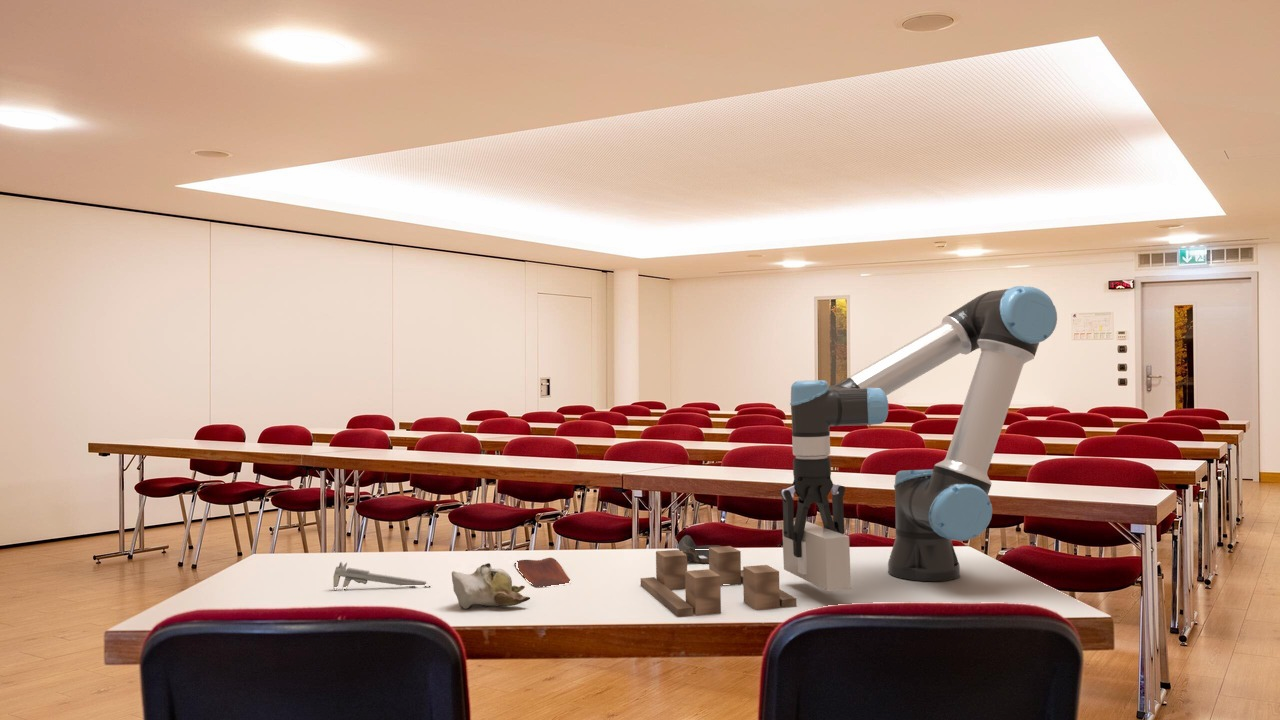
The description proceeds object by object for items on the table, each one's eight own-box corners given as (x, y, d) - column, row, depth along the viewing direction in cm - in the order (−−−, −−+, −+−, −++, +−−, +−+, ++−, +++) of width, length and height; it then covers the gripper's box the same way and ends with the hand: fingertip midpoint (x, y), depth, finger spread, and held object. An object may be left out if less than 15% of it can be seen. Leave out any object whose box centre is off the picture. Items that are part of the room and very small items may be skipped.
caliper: (333, 592, 195) (333, 562, 196) (334, 591, 197) (334, 561, 197) (431, 588, 197) (431, 559, 198) (432, 587, 199) (431, 558, 199)
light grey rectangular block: (805, 567, 197) (803, 520, 197) (850, 588, 178) (849, 536, 178) (783, 569, 196) (782, 522, 196) (827, 591, 176) (825, 538, 176)
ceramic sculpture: (451, 557, 185) (525, 557, 189) (449, 601, 185) (523, 600, 189) (453, 569, 175) (532, 569, 179) (450, 615, 175) (529, 614, 178)
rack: (745, 576, 203) (745, 545, 203) (796, 606, 178) (795, 569, 178) (640, 585, 197) (640, 552, 197) (677, 616, 172) (677, 579, 172)
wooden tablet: (512, 565, 221) (512, 558, 221) (553, 562, 224) (553, 555, 224) (528, 591, 195) (528, 583, 195) (575, 587, 198) (575, 579, 198)
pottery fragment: (731, 565, 217) (731, 546, 217) (681, 565, 216) (681, 547, 216) (722, 552, 232) (722, 534, 232) (675, 552, 231) (675, 535, 231)
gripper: (843, 452, 193) (846, 563, 193) (762, 457, 188) (766, 572, 188) (860, 455, 186) (864, 571, 186) (777, 461, 181) (781, 580, 181)
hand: (815, 571), depth 187 cm, fingers closed on light grey rectangular block, 5 cm apart
